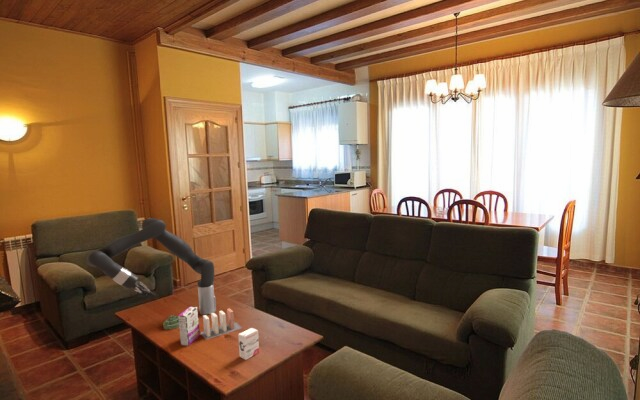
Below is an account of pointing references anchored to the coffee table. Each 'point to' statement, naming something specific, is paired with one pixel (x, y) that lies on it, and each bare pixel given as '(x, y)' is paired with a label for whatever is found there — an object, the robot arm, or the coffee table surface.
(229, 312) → the domino
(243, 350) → the ink box
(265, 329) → the coffee table surface
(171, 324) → the decorative artifact
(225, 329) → the domino
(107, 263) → the robot arm
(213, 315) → the domino
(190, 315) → the candy bar box
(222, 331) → the mat
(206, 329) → the domino
